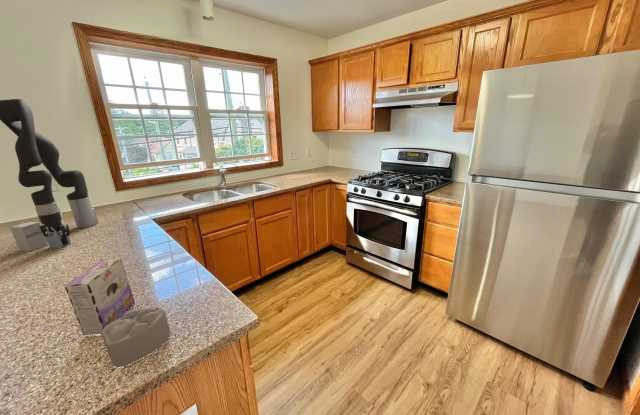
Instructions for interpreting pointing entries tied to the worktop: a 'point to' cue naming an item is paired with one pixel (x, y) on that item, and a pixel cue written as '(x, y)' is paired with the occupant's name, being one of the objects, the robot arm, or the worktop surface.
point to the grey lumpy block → (135, 335)
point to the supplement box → (28, 236)
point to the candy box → (100, 295)
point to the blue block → (56, 241)
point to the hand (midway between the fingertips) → (60, 244)
